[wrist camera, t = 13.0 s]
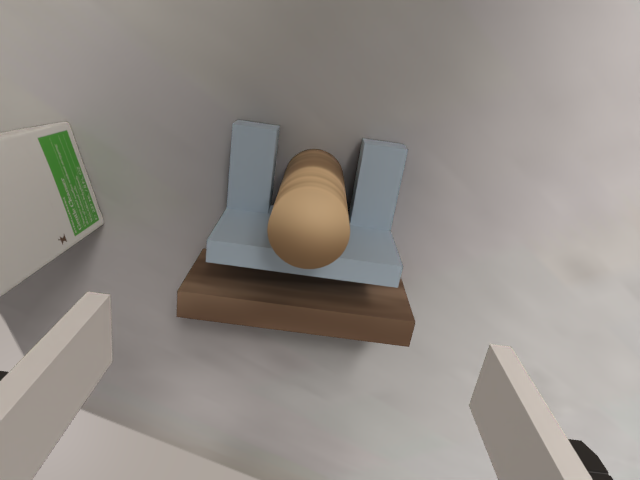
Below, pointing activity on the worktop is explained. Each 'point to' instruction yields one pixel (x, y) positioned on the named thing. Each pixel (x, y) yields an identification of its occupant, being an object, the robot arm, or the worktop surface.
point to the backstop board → (295, 303)
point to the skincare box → (41, 199)
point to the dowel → (310, 212)
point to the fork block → (255, 205)
